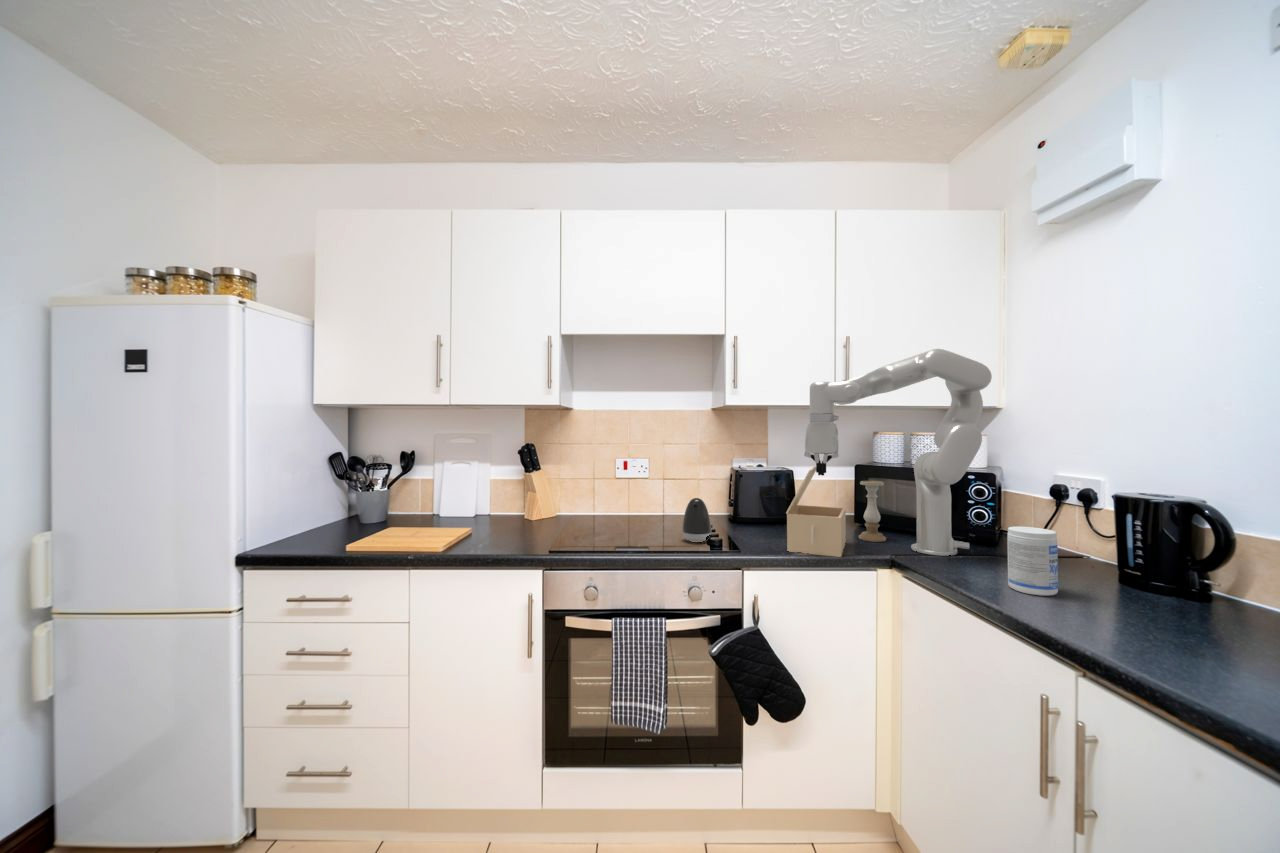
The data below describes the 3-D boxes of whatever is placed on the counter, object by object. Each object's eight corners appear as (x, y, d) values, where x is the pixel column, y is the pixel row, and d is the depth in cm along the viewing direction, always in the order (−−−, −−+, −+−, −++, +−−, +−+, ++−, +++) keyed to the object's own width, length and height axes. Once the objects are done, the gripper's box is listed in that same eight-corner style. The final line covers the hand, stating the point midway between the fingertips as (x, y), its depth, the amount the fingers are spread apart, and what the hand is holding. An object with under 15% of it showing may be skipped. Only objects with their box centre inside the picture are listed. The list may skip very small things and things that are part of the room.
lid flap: (818, 465, 172) (817, 465, 173) (811, 470, 155) (809, 469, 155) (796, 505, 176) (795, 504, 176) (787, 514, 158) (785, 513, 158)
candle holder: (857, 540, 172) (857, 482, 172) (859, 535, 180) (859, 480, 180) (885, 543, 168) (885, 483, 168) (886, 538, 176) (886, 481, 176)
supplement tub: (1063, 599, 113) (1062, 535, 113) (1011, 593, 117) (1011, 531, 118) (1052, 587, 121) (1051, 527, 121) (1004, 581, 126) (1004, 524, 126)
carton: (845, 543, 169) (845, 508, 169) (840, 560, 147) (839, 520, 147) (797, 538, 176) (796, 505, 176) (784, 554, 154) (784, 516, 154)
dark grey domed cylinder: (679, 544, 169) (679, 499, 169) (684, 537, 179) (684, 495, 179) (709, 545, 166) (709, 500, 166) (712, 538, 176) (712, 496, 176)
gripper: (846, 419, 163) (846, 475, 163) (799, 419, 169) (799, 473, 169) (845, 419, 156) (844, 477, 156) (796, 419, 162) (795, 475, 162)
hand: (821, 475), depth 163 cm, fingers closed
